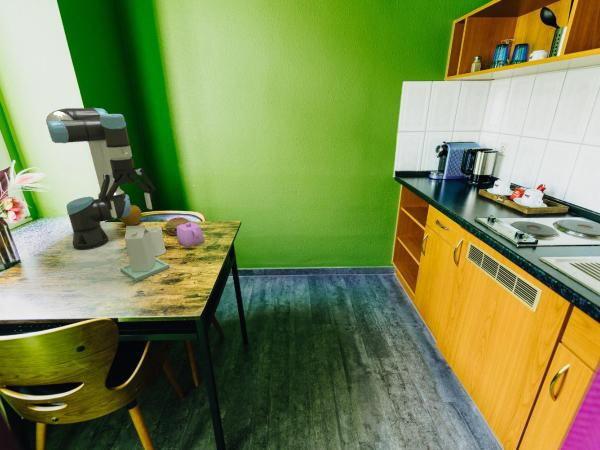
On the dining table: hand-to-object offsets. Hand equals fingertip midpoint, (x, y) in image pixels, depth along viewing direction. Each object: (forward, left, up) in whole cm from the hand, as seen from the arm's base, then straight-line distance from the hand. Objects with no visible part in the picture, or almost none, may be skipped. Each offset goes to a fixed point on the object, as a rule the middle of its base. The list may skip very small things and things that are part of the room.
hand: (132, 212), depth 120 cm
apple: (-63, +23, -26) cm, 72 cm away
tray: (0, 0, -25) cm, 25 cm away
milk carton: (0, 0, -25) cm, 25 cm away
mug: (-13, +10, -26) cm, 30 cm away
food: (-28, +33, -26) cm, 50 cm away
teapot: (-11, +29, -26) cm, 40 cm away
